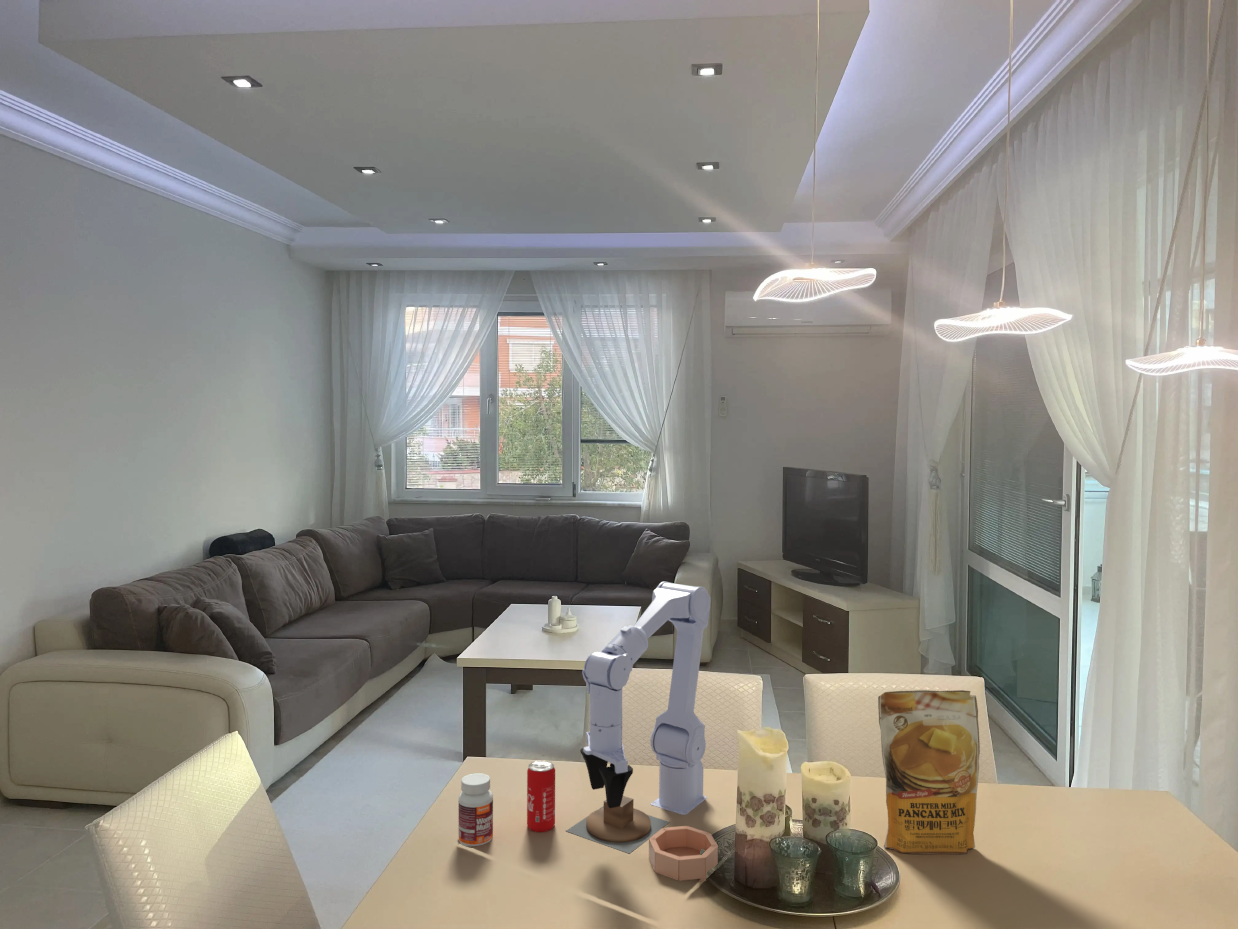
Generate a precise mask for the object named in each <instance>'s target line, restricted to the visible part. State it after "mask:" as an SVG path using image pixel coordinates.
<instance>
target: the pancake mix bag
mask: <svg viewBox="0 0 1238 929" xmlns="http://www.w3.org/2000/svg"><path fill="white" fill-rule="evenodd" d="M971 692H972V691H970V690H964V689H962V690H960V689H959V690H927V689H925V690H923V689H922V690H898V691H894V690H893V691H885V692H883V693H882V694H880V695H879V696H878V697H877V698H878V700H877V702H878V703H877V704H878V723H879V728H880V741H881V744H880V745H881V756H882V757H881V758H882V763H883V769H884V770H883V771H884V774H885V803H886V809H887V820H888V821H887V824H888V825H887V833H886V838H885V841H884V845H883V848H886V849H890V850H891V849H892V850H893V851H896V852H898V853H902V854H912V855H913V854H914V855H915V854H917V855H920V854H921V855H922V854H923V855H941V854H945V855H960V854H963V855H964V854H968V851H969V850H972V849H974V848H975V849H976V842H975V837H974V836H975V835H974V832H975V826H976V825H975V823H976V815H977V814H976V813H977V795H978V785H979V773H980V772H979V771H980V762H979V761H980V754H981V753H980V752H981V747H980V746H981V745H980V744H981V743H980V727H979V726H980V725H979V708H978V700H977V695H972V694H971Z"/></svg>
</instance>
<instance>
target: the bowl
mask: <svg viewBox="0 0 1238 929" xmlns="http://www.w3.org/2000/svg"><path fill="white" fill-rule="evenodd" d="M701 849H704V850H705V852H704V853H703V854H702V855H700V851H701ZM718 855H719V845H718V844H717V842H716V840H715V839H714V837H713V835H712V833H710V832H708V831H705V830H702V829H699V828H695V827H692V826H690V825H682V826H681V825H680V826H669V827H663V828H662V829H660V830H659V831H658V832H657V833H655V834H654V835H653V836H652V837H650V838H649V839H648V860H649V863H650V864H651V866H652V869H653V872H654V873H656V874H659V875H661V876H664V877H667V878H671V879H673V880H676V881H678V882H680V881H681V882H682V881H689V880H698V881H697V883H700V882H706V881H707V880H706V874H707V872H708V871H709V870H710V869H712V868H714V867H715V866H716V865H717V864H718V863H719V858H718V857H719V856H718Z"/></svg>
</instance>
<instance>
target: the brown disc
mask: <svg viewBox="0 0 1238 929" xmlns="http://www.w3.org/2000/svg"><path fill="white" fill-rule="evenodd" d="M634 800H635V799H634V798H632V797H628V796H624V795H623V798H622V802H621V805H620V806H619V807H614V808H609V807H608V805H607V800H606V799H605V800H604V801H603V806H604V808H602V809H600V808H598V809H599V810H598V809H596V810H594V811H593V812H591V813H590V814H589V815H587V816H588V817H587V816H586V817H587V820H586V829H587V831H588V832H589V834H591V835H592V836H593V837H595V838H597V839H600V840H603V841H607V842H615V843H623V842H631V841H635V840H638V839H641V838H643V837H644V836H646V835H647V834H648V833H649V831H650V828H651V820H650V818H649V816H648V815H649V814H646V813H645V812H644V811H642V810H640V809H638V808H634Z"/></svg>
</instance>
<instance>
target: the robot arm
mask: <svg viewBox="0 0 1238 929" xmlns="http://www.w3.org/2000/svg"><path fill="white" fill-rule="evenodd" d="M708 592H709V591H707V589H706V587H704V586H695V585H687V584H681V583H680V584H679V583H673V582H669V581H661V582H660V583H659V584H658V585H657V586H656V588H655V589H654V590H653V591H652V594H651V595H652V596H651V603H650V604H649V605H648V607H647V608H646V609H645V610H644V612H642V615H641V616H640V617H639V618H638V620H637V621H636V622H635V623H634V625H626V626H623V627H622V628H621V629H620V630H619V632H618V633H617V634H616V635H615V636H614V637H613V639H611V641H609V642H608V643H607V645H606V646H605V647H604V648H603V649H602V650H601V651H598V650H597V651H595V652H593V653H591V654H590V655H589V656H587V658H586V660H585V661H584V662H585V663H584V666H583V669H582V672H581V674H582V678H583V680H584V682H585V685H586V691H587V694H588V695H589V731H586V732H585V742H586V744H587V746H584V747H582V748H580V750H579V751H580V754H581V756H582V757H583V760H584V763H585V765H586V769H587V773H588V777H589V783H590V786H591V790H599V789H605V800H607V805H608V807H609V808H614V807H619V806H620V805H621V802H622V798H623V796H624V793H625V789H626V786H627V784H628V781H629V780H630V778H631V776H632V775H633V773H634V769H633V767H632V766H631V765H630V764H628V762H629V761H628V760H627V758H626V754H625V749H624V744H623V688H624V686H626V685H627V684H628V681H629V680H630V675H631V673H632V671H633V668H634V667H633V666H634V664H635V663H636V662H637V661H638V660H639V659H640V658H641V657H642V655H643V654H644V653H645V652H647V650H648V647H649V641H648V639H649V638H650V637H651V636H652V635H654V634H655V633H656V632H657V631H658V630H659V629H660V628H661V627H662V626H663V625H664V624H665V623H666V622H671V624H672V625H673V626H674V628H675V630H676V640H675V641H676V642H675V648H674V656H673V664H672V665H673V666H672V672H671V681H670V688H669V698H668V705H667V709H666V710H665V711H663V712H662V713H661V714H659V715H658V716H656V718H655V723H654V727H653V730H652V732H651V735H650V747H651V751H652V752H653V753H654V754H655V755H656V757H655V758H656V760H658V761H659V764H658V765H659V769H658V770H659V772H658V773H659V774H658V775H659V778H658V779H659V780H658V781H659V782H658V787H659V789H658V798H656V799H655V800H654V801H652V802H651V803H650V805H651V806H653V807H656V808H660V809H663V810H665V811H668V812H672V813H675V814H679V815H683V816H685V815H687V814H689V813H690V812H691V811H692V810H693V809H695V808H696V807H698V806H699V805H700V804H702V803H703V801H705V800H707V799H708V797H707V796H706V795H704V766H703V762H702V759H703V757H704V755H705V752H706V747H707V746H706V745H707V743H706V738H705V731H706V730H705V727H706V726H705V724H704V723H703V722H702V721H701V719H700V718H699V717H698V716H697V714H696V713H695V706H696V698H697V697H696V696H697V689H698V688H697V687H698V679H699V672H700V663H701V655H702V648H703V647H702V646H703V639H704V638H703V637H704V630H705V629H707V628H708V626H709V620H710V611H711V603H712V602H711V600H712V599H711V596H710V594H709V593H708ZM608 763H609V766H608Z"/></svg>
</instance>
